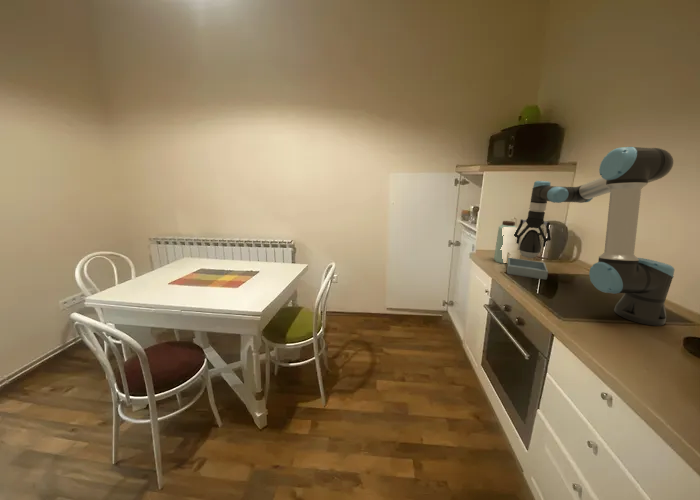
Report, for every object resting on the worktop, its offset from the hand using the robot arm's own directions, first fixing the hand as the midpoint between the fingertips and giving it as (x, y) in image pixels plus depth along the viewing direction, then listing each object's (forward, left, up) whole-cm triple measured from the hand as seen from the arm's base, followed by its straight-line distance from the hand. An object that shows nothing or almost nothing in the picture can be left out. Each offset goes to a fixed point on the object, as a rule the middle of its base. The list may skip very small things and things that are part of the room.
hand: (529, 250), depth 172 cm
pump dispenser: (0, 0, -3) cm, 3 cm away
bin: (0, 0, -12) cm, 12 cm away
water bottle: (+15, +12, -12) cm, 23 cm away
